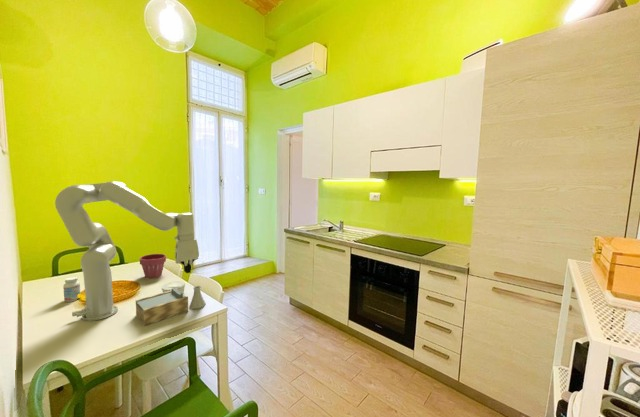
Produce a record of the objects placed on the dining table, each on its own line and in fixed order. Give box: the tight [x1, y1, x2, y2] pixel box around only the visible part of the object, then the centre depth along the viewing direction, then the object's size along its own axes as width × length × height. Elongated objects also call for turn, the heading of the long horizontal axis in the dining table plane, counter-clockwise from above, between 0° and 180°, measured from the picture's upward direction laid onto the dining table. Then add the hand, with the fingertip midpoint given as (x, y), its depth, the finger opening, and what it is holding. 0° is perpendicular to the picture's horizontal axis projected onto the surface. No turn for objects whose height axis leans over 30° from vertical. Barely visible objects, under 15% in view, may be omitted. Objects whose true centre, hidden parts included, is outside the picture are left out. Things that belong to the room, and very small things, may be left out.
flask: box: [188, 285, 207, 310], centre depth 129 cm, size 7×7×10 cm
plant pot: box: [139, 253, 167, 279], centre depth 167 cm, size 14×14×13 cm
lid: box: [137, 288, 187, 310], centre depth 121 cm, size 18×10×3 cm, turn 138°
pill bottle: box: [62, 276, 81, 303], centre depth 132 cm, size 6×6×11 cm
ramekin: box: [161, 281, 186, 295], centre depth 141 cm, size 11×11×5 cm
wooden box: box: [135, 289, 189, 327], centre depth 121 cm, size 18×13×7 cm
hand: (187, 272), depth 132 cm, fingers closed
